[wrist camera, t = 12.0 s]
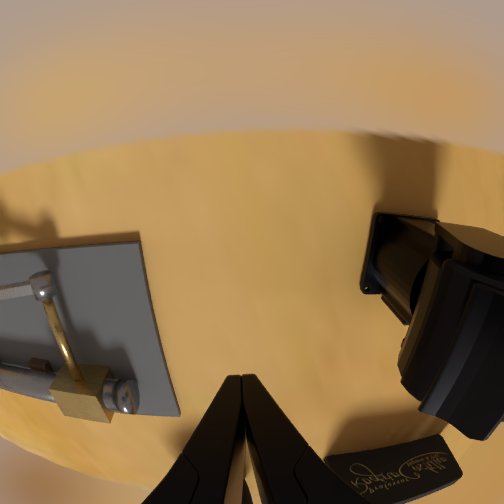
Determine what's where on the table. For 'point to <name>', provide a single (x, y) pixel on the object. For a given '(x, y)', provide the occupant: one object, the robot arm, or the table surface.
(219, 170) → the table surface
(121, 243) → the gray mounting plate
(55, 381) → the valve pipe
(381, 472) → the nameplate
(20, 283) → the valve lever
